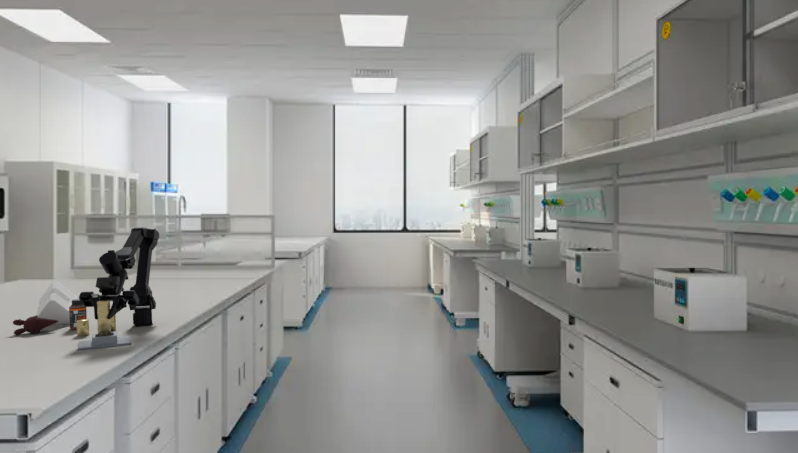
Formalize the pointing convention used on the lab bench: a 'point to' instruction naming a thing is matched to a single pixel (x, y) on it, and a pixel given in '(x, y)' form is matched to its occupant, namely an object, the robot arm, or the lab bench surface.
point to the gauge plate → (104, 341)
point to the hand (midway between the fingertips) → (102, 318)
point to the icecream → (33, 324)
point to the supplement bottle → (76, 313)
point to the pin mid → (113, 323)
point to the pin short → (83, 327)
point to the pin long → (103, 318)
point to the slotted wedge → (56, 303)
